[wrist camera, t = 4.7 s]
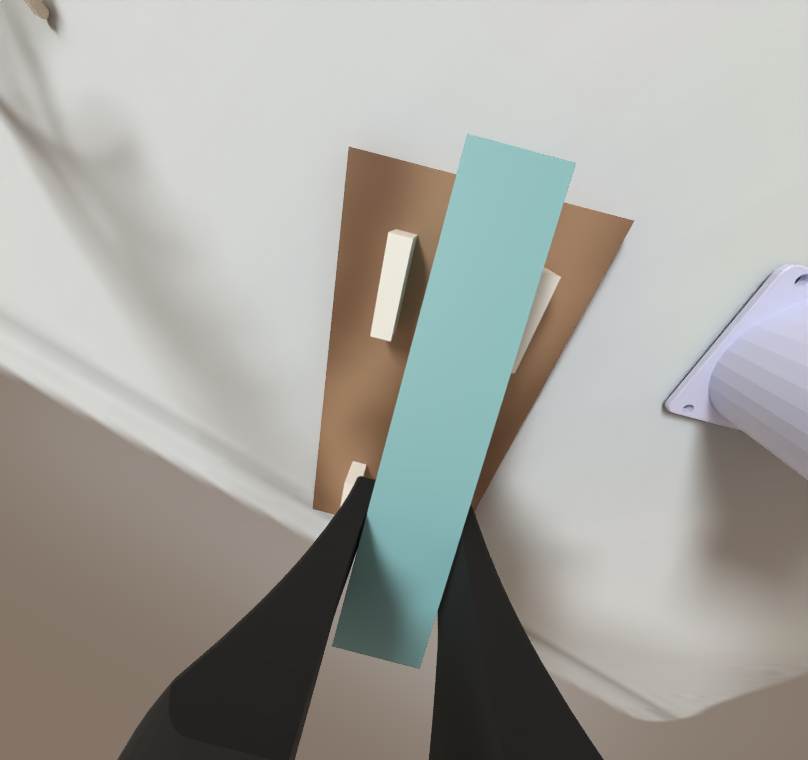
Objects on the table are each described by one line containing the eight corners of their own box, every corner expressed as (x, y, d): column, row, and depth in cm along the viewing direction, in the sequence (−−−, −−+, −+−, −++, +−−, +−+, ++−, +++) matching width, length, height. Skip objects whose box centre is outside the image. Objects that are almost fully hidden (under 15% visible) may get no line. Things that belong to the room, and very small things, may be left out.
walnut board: (622, 219, 13) (634, 220, 12) (455, 534, 25) (455, 545, 24) (355, 150, 13) (348, 146, 12) (317, 498, 25) (312, 508, 24)
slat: (513, 232, 13) (575, 163, 8) (417, 560, 15) (419, 668, 10) (445, 214, 13) (467, 133, 8) (358, 545, 15) (332, 646, 10)
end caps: (546, 268, 13) (560, 277, 12) (434, 517, 23) (433, 543, 21) (395, 229, 13) (388, 232, 12) (346, 495, 23) (338, 518, 21)
